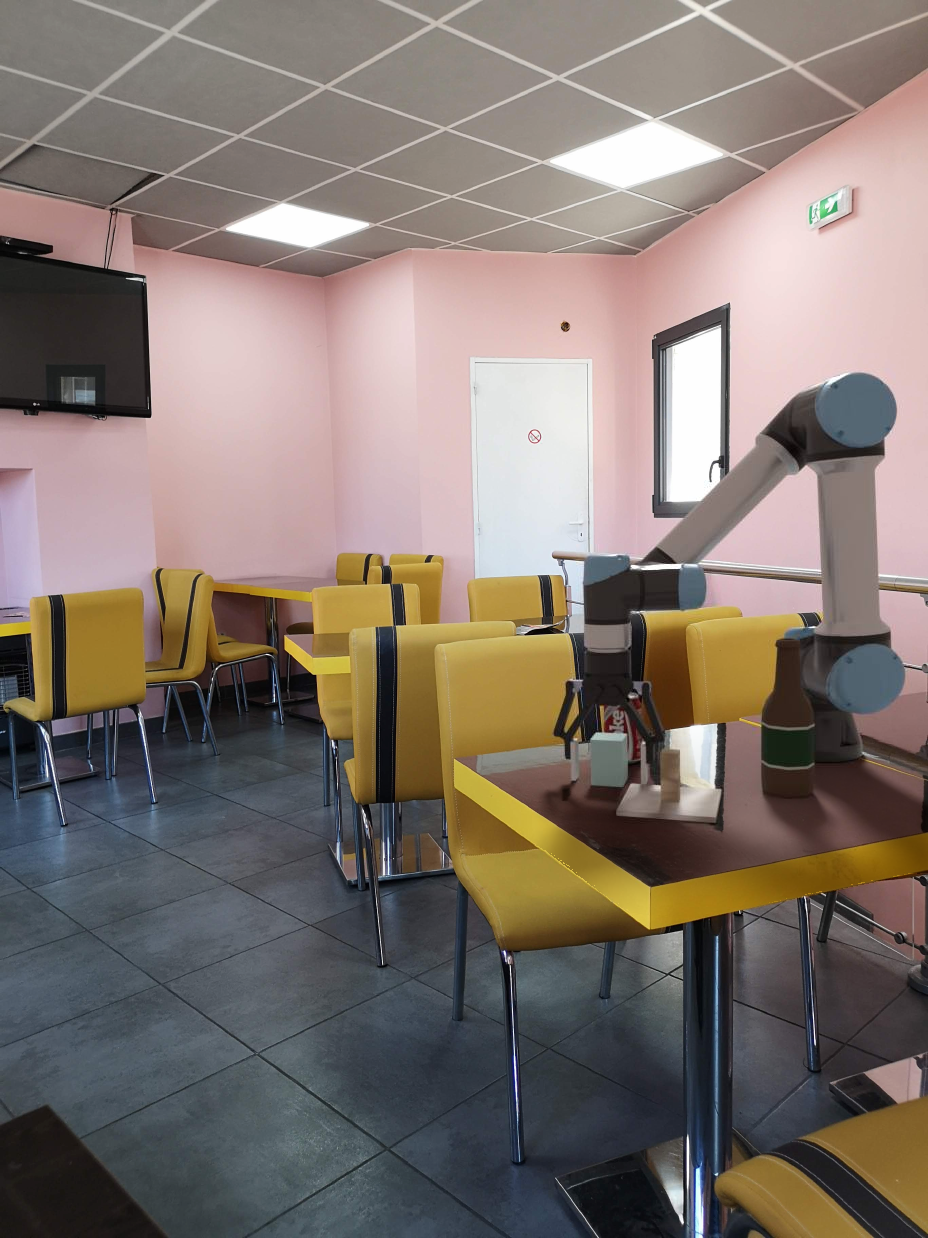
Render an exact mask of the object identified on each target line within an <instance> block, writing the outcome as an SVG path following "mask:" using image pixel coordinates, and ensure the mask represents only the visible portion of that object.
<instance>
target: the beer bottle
mask: <svg viewBox="0 0 928 1238" xmlns="http://www.w3.org/2000/svg"><path fill="white" fill-rule="evenodd" d="M774 647H776V648H777V649H776V659H775V660H776V661H775V673H774V684H773V688H772V691H771V693H770V694H769V695H768V697H767V698H766V699H765V701H764V704H763V707H762V710H761V720H760V726H761V727H760V728H761V729H760V734H761V735H760V736H761V737H760V741H761V743H760V746H761V747H760V749H761V751H760V754H761V755H760V756H761V757H760V758H761V759H760V760H761V761H760V762H761V764H760V765H761V767H760V769H761V770H760V772H761V773H760V774H761V775H760V779H761V789H762V790H763V791H764V792H765V793H766V794H768V795H769V796H773V797H780V798H785V799H799V798H807V797H809V796H810V795H811V794H813V792H814V787H815V761H814V746H815V721H814V711H813V708H812V706H811V703H810V701H809V699H808V698H807V697H806V695H805V694H804V692H803V689H802V684H801V672H800V655H799V648H800V647H801V643H800V640H798V639H795V638H784V637H782V638H779V639H778V638H777V639H776V641H775V644H774Z"/></svg>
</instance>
